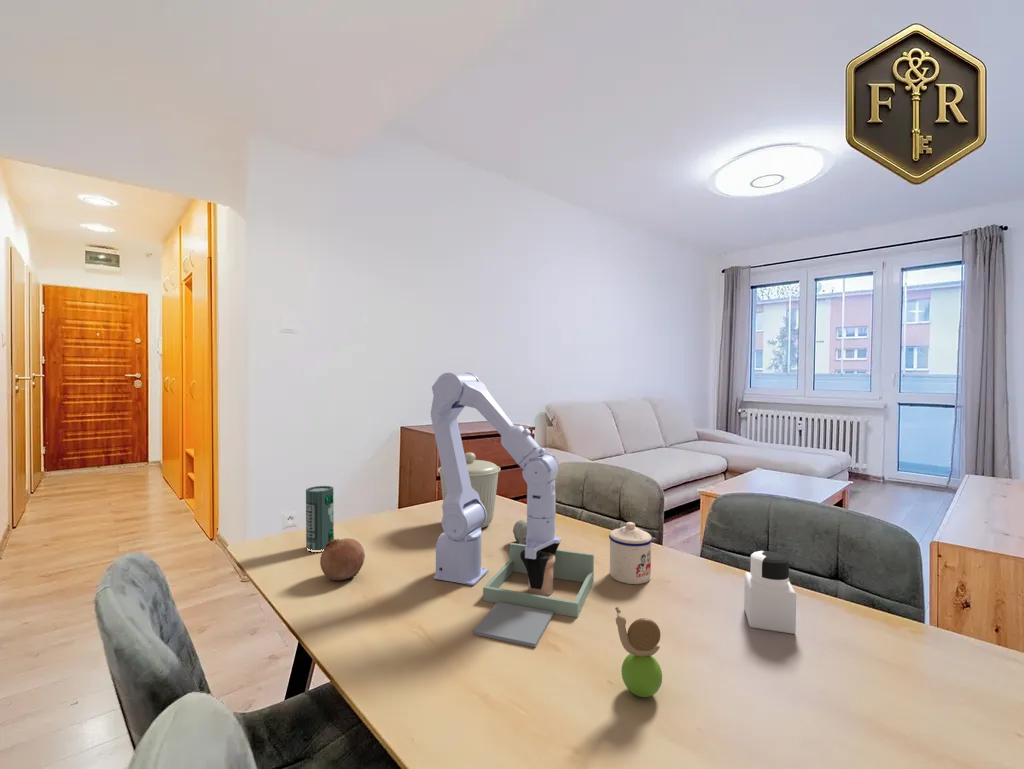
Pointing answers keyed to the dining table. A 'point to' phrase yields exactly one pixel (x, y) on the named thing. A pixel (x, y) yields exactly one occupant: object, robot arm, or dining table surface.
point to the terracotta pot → (545, 578)
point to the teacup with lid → (630, 554)
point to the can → (319, 517)
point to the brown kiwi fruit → (342, 559)
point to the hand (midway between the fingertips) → (540, 581)
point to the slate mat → (514, 624)
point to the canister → (480, 482)
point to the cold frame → (565, 567)
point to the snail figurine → (640, 655)
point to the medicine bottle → (770, 593)
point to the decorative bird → (520, 531)
